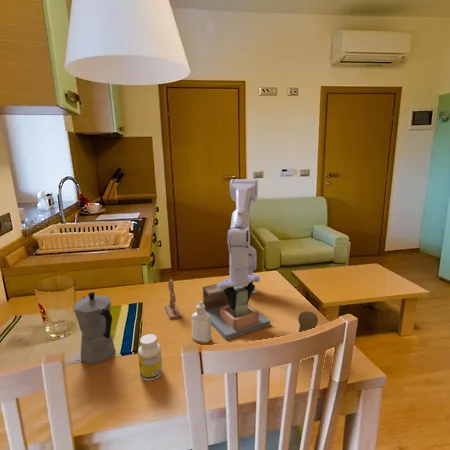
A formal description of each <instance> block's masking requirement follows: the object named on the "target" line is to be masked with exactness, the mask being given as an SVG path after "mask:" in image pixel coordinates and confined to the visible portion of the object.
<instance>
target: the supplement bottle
mask: <svg viewBox="0 0 450 450" xmlns="http://www.w3.org/2000/svg"><path fill="white" fill-rule="evenodd" d="M161 349H162V348H161V344H159V342H158V337H157V335H156V334H153V333H147V334H144V335H143V336H141V337H140V339H139V347H138V350H137V356H138V357H137V358H138V367H139V375H140V378H141V379H142V380H145V381H155V380H157V379H159V377H161V375H162V373H163V363H162V361H163V360H162V350H161Z"/></svg>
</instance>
